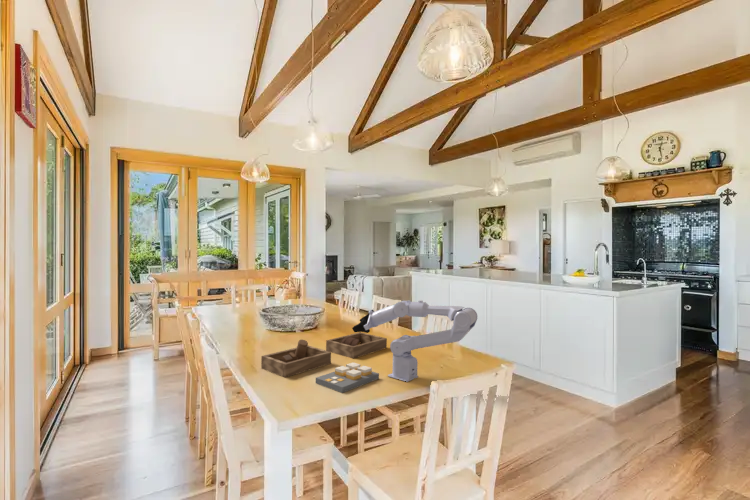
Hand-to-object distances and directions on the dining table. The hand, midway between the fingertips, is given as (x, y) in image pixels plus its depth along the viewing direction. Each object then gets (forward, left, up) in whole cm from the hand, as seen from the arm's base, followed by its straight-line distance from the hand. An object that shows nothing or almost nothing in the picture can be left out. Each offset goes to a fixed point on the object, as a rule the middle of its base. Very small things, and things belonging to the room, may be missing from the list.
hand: (357, 325), depth 167 cm
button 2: (-11, +14, -16) cm, 24 cm away
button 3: (-5, +8, -16) cm, 19 cm away
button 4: (-5, +14, -16) cm, 22 cm away
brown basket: (+18, -21, -18) cm, 33 cm away
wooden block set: (+19, +16, -18) cm, 30 cm away
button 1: (-11, +8, -16) cm, 21 cm away
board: (-8, +14, -18) cm, 24 cm away
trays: (+19, -2, -18) cm, 26 cm away
